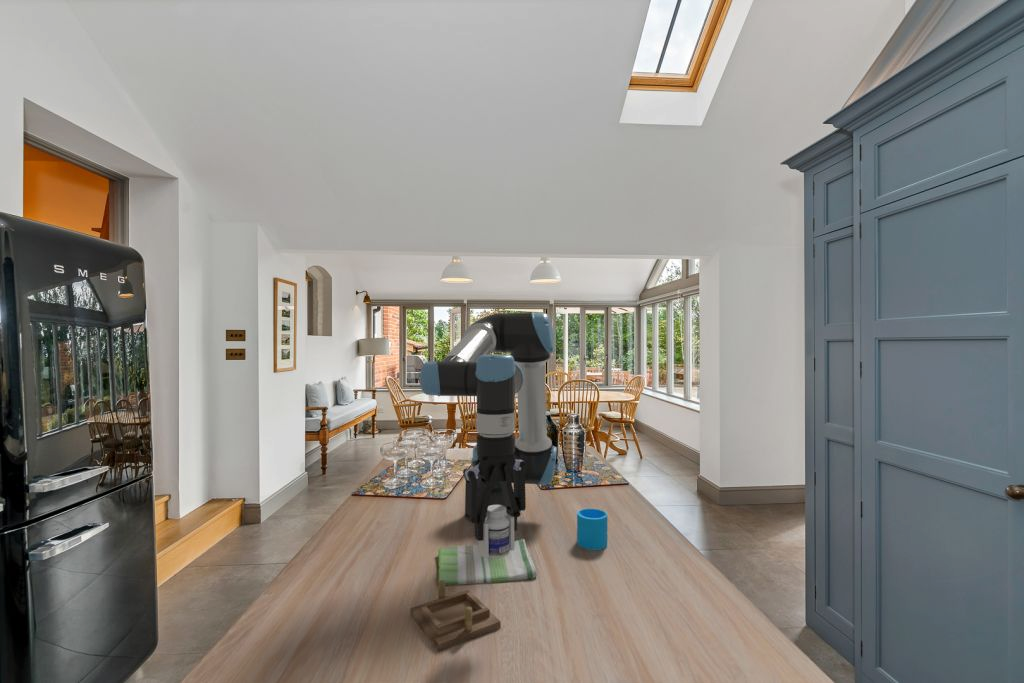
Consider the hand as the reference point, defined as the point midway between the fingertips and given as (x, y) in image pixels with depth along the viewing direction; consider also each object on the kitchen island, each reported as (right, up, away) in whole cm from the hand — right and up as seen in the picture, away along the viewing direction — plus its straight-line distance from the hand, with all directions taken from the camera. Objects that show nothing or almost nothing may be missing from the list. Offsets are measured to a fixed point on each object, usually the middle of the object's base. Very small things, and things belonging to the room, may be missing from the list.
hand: (496, 551), depth 96 cm
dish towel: (-4, -15, +25) cm, 29 cm away
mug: (+25, -14, +40) cm, 49 cm away
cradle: (-8, -14, +2) cm, 17 cm away
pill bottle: (0, 0, 0) cm, 0 cm away
